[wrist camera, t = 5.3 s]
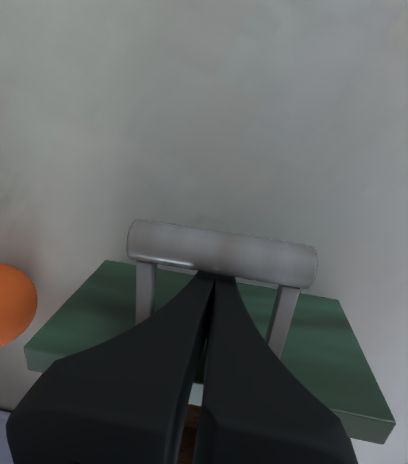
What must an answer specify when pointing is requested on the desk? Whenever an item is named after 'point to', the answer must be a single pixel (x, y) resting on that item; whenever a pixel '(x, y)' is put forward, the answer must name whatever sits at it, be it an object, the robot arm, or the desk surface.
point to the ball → (15, 303)
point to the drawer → (257, 304)
